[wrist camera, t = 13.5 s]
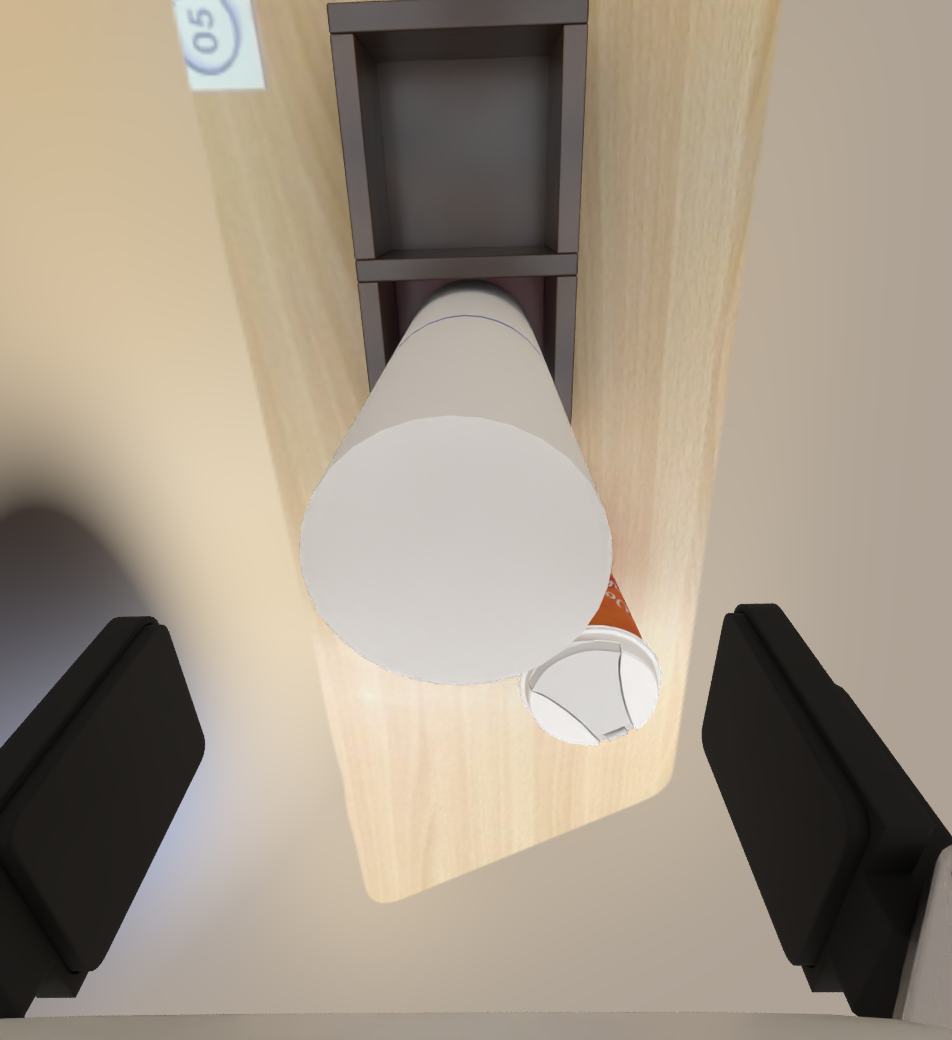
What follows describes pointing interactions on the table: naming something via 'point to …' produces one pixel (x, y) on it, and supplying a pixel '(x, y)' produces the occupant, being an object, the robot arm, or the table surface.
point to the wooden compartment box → (463, 159)
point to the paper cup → (596, 679)
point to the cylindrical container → (459, 505)
